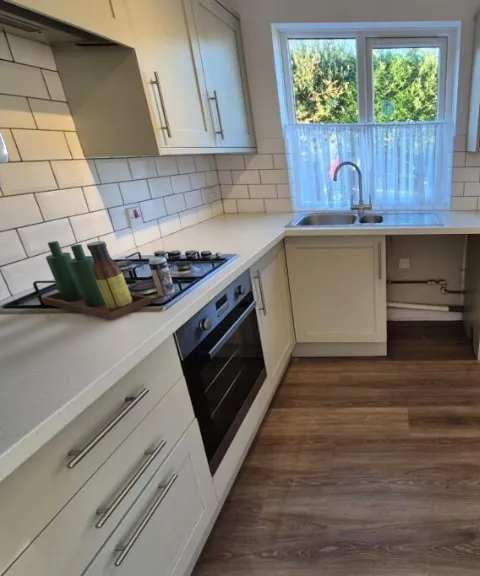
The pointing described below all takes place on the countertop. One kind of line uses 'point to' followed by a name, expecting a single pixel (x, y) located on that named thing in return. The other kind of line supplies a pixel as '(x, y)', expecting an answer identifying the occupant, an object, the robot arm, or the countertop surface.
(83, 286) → the green bottle
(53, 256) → the green bottle
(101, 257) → the sauce bottle
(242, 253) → the countertop surface
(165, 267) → the beer can
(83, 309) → the tray
